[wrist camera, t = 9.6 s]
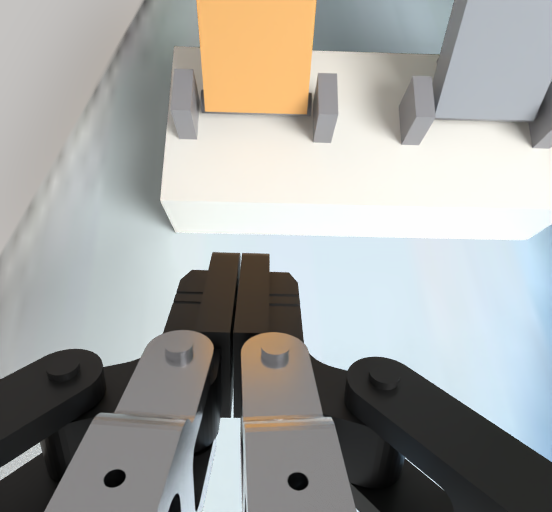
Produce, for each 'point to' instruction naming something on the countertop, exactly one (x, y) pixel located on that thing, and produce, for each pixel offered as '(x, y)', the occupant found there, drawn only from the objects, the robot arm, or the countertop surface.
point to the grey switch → (494, 61)
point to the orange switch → (256, 56)
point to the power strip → (354, 159)
